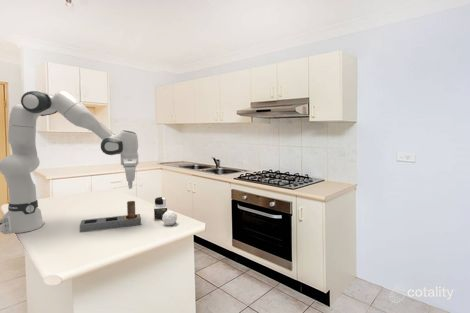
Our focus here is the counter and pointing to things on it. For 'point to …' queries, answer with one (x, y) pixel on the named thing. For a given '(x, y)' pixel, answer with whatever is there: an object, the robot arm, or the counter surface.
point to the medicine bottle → (159, 208)
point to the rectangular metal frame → (109, 223)
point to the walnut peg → (131, 209)
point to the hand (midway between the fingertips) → (130, 186)
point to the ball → (169, 217)
